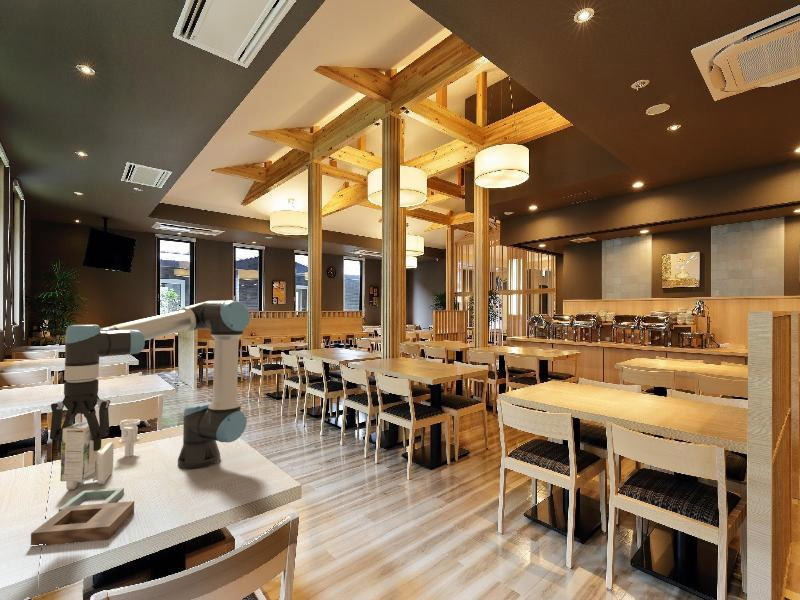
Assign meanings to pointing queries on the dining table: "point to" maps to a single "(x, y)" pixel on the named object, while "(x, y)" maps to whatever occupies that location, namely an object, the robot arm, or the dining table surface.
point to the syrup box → (76, 453)
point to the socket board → (98, 527)
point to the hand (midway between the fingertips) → (79, 462)
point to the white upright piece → (129, 435)
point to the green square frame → (96, 496)
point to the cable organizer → (99, 467)
